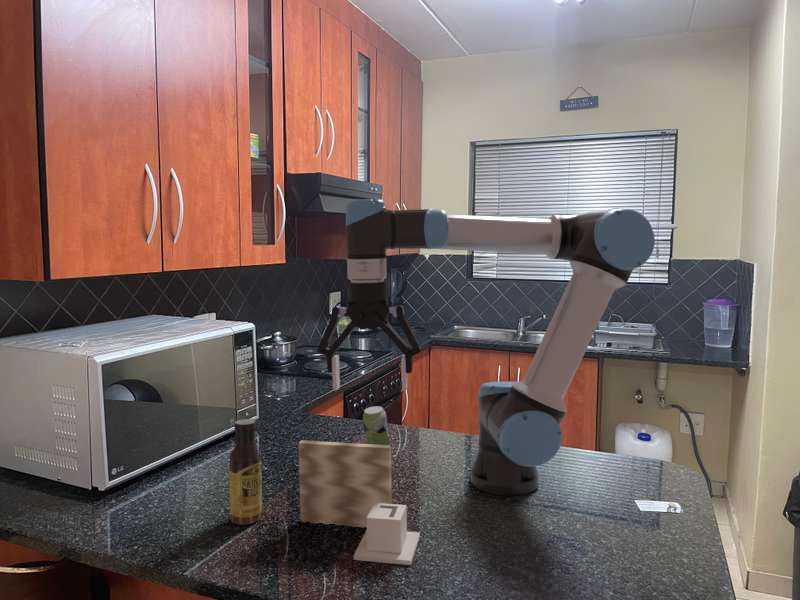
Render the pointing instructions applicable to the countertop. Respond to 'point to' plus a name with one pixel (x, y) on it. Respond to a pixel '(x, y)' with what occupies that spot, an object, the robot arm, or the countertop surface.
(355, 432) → the countertop surface
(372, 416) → the beverage can
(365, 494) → the screen
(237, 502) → the sauce bottle
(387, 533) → the letter cube
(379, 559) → the tile
